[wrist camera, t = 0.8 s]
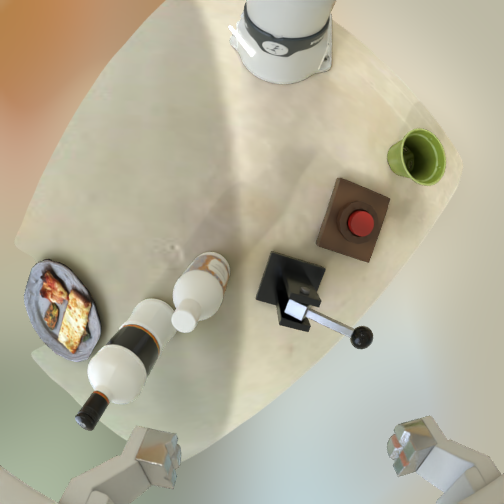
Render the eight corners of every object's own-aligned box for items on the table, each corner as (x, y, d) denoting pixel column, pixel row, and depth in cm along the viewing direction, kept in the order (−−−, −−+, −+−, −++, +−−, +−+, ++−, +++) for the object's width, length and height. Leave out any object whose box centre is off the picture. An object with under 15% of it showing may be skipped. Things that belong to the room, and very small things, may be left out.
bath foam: (238, 273, 49) (227, 328, 29) (209, 295, 50) (183, 357, 30) (213, 243, 48) (184, 280, 28) (184, 266, 49) (142, 314, 29)
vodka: (172, 293, 50) (94, 400, 21) (184, 336, 52) (131, 455, 23) (130, 299, 50) (39, 390, 21) (144, 339, 53) (75, 442, 23)
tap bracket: (324, 266, 48) (345, 292, 36) (306, 311, 50) (320, 347, 38) (271, 250, 48) (276, 272, 35) (255, 297, 50) (255, 331, 37)
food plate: (46, 237, 48) (36, 241, 45) (119, 306, 51) (111, 313, 48) (23, 311, 53) (16, 316, 49) (84, 370, 56) (77, 377, 52)
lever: (377, 328, 34) (375, 336, 31) (368, 347, 35) (365, 356, 32) (297, 291, 40) (289, 296, 37) (290, 310, 41) (281, 316, 38)
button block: (336, 178, 45) (343, 177, 41) (385, 198, 45) (395, 199, 41) (315, 243, 47) (320, 248, 43) (364, 259, 48) (372, 265, 44)
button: (352, 207, 42) (356, 207, 40) (373, 215, 42) (377, 216, 41) (344, 230, 43) (348, 232, 41) (365, 237, 43) (369, 239, 42)
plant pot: (414, 192, 45) (439, 194, 36) (373, 174, 44) (395, 172, 36) (424, 148, 43) (449, 143, 34) (384, 127, 42) (407, 118, 34)
